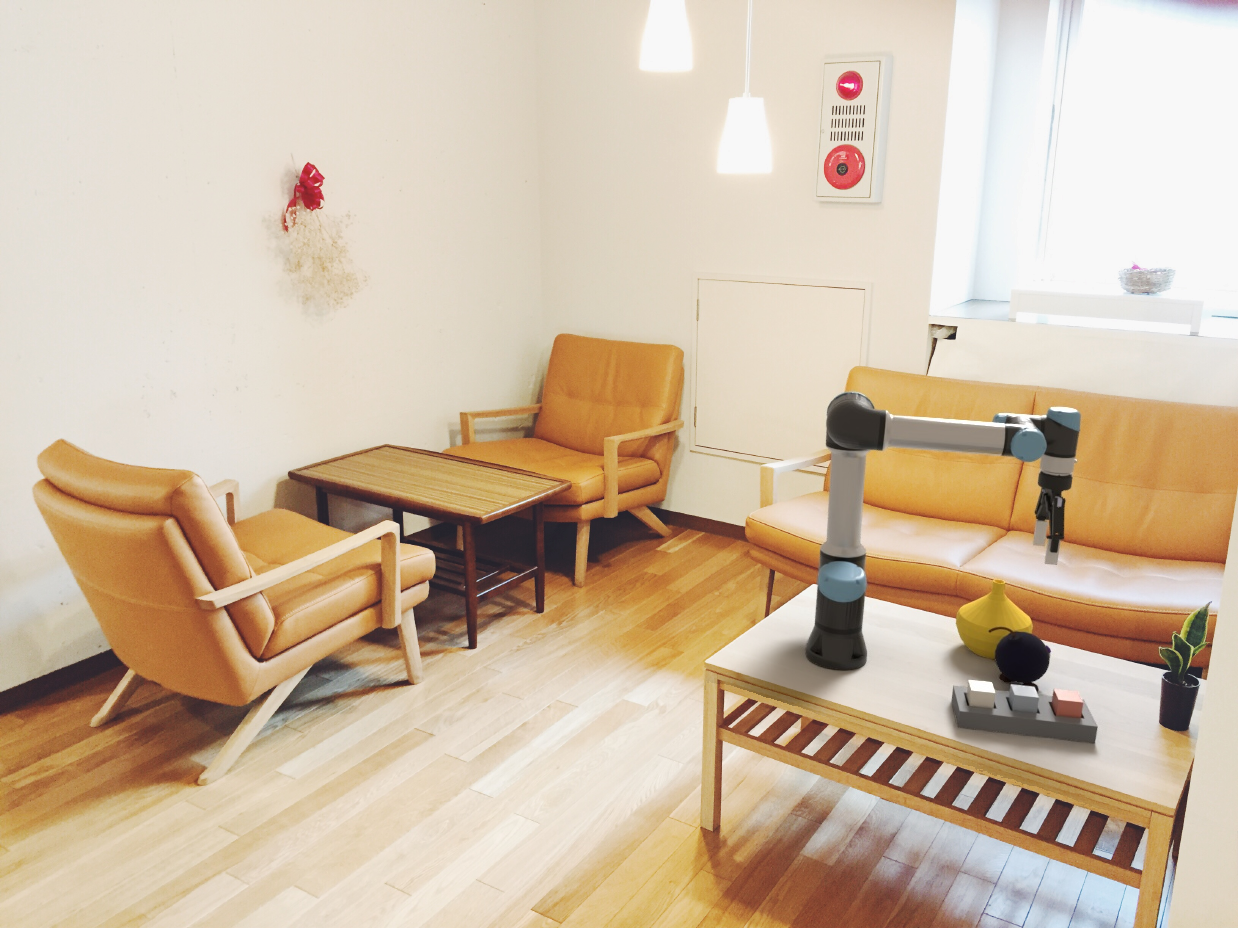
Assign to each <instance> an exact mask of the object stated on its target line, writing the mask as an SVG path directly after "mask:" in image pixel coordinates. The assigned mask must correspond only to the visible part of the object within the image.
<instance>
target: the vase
mask: <svg viewBox="0 0 1238 928" xmlns="http://www.w3.org/2000/svg"><path fill="white" fill-rule="evenodd" d="M1005 588H1006V581H1005V580H1003V579H999V578H994V579H992V587H991V591H990V592H989V593H988V594H985V595H984V596H982V597H979V598H977V599H976V600H973V601H971V602H969V603H966V604H963V605H962V606H961V607H960V608H959V609H958V611H957V613H956V616H955V626H956V628H957V632H958V635H959V638H960V640H961V641H962V642H963V644H964V645H965V646H966V647H967V648H968V649H969V650H970V651H971V652H973V653H974V654H975V655H977V656H980V657H983V658H986V659H991V660H995V650H996V647H997V645H998V643H999V642H1000V640H1001V639H1002V638H1003V637H1005V636H1006V635H1008V634H1009V633H1010V632H1009V631H1007V630H1003V629H999V630H995V631H992V632H991V633H989V630H990V629H992V628H995V627H1006V628H1009V629H1011V630H1012V631H1013V632H1014V631H1018V632H1027V633H1031V634H1033V629H1034V628H1033V627H1034V625H1033V622H1032V619H1031V617H1030V616H1029V615H1028V614H1027V613H1025V612H1024V611H1023V610H1022V609H1021V608H1020V607H1019V606H1017V605H1016V604H1015V603H1014V602H1013V601H1011V599H1010V598H1008V597H1007V595H1006V594H1005V590H1006V589H1005Z"/></svg>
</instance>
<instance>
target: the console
mask: <svg viewBox="0 0 1238 928" xmlns="http://www.w3.org/2000/svg"><path fill="white" fill-rule="evenodd" d="M967 687H968V686H962V685H955V684H954V685H953V686H952V694H951V704H952V709H953V714H954V716H955V721H956V722H955V723H956V725H957V728H958V729H959V728H960V729H966V730H967V729H968V730H977V731H985V732H994V733H995V732H996V733H1003V734H1012V735H1019V736H1030V737H1038V738H1047V739H1053V740H1054V739H1056V740H1062V741H1071V742H1079V743H1081V742H1082V743H1087V744H1088V743H1090V744H1096V741H1097V740H1096V739H1097V734H1098V725H1097V722H1096V721H1095V719H1094V716H1093V714H1092V713H1091V710H1090V709H1089V707H1088V705H1087V702H1086V700H1085V699H1083V698H1081V699H1082V701H1083V708H1082V715H1081V718H1074V717H1065V716H1056V714H1055V712H1054V710H1053V707H1052V705H1051V704H1052V697H1053V695H1045V694H1038V696H1039V702H1038V709H1037V713H1029V712H1020V711H1012V708H1011V705H1010V703H1009V693H1010V690H998V689H994V690H995V700H994V708H984V707H975V706H969V703H968V699H967Z"/></svg>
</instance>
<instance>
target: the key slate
mask: <svg viewBox="0 0 1238 928" xmlns="http://www.w3.org/2000/svg"><path fill="white" fill-rule="evenodd" d="M1009 687H1010V688H1009V691H1010V693H1009V703H1010V705H1011V708H1012V711H1020V712H1029V713H1037V709H1038V702H1039V696H1038V695H1039V694H1038V691H1037V692H1036V689H1035V687H1032V686H1022V684H1012V683H1011V684H1010V686H1009Z"/></svg>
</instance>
